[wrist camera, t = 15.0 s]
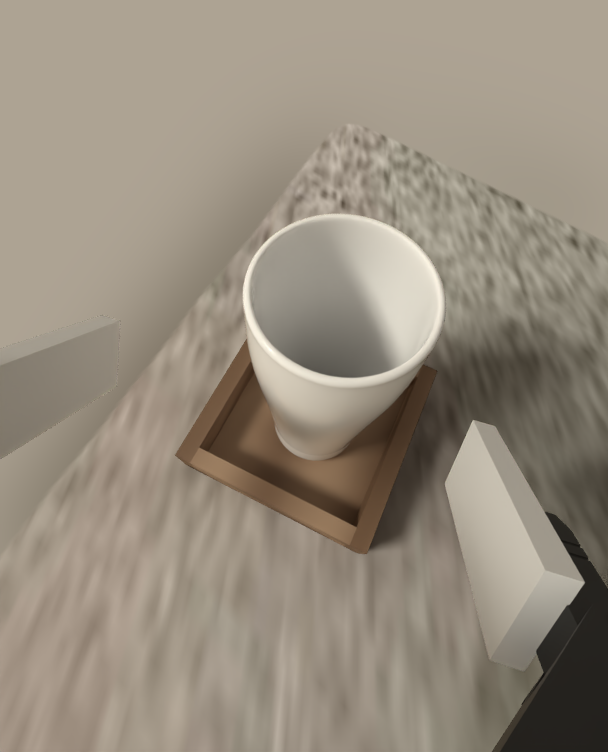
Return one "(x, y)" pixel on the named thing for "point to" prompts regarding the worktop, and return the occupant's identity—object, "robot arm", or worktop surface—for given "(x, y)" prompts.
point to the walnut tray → (297, 475)
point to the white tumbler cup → (338, 326)
